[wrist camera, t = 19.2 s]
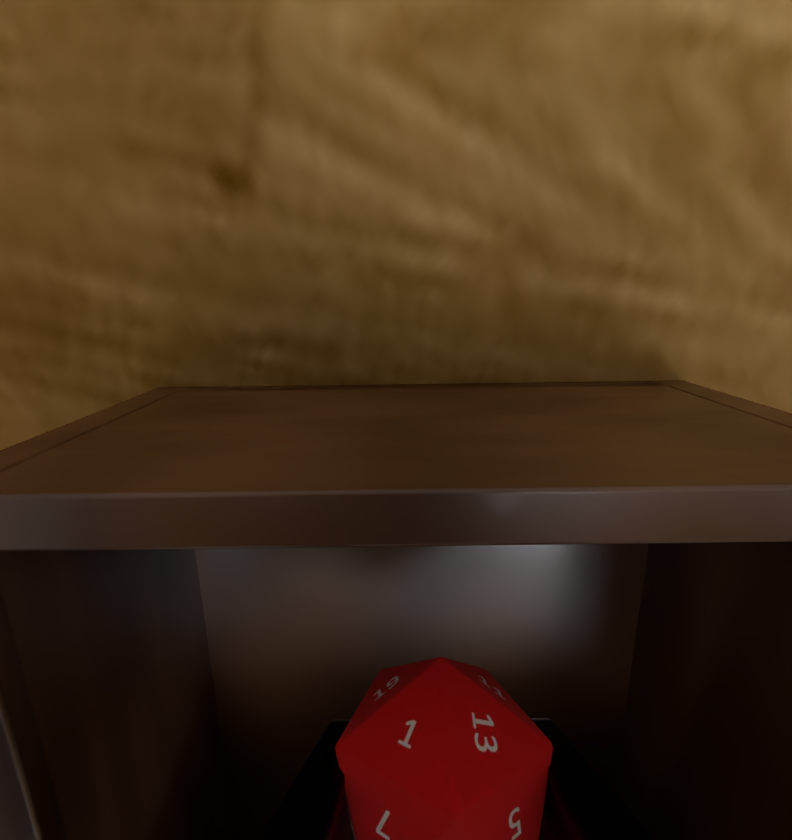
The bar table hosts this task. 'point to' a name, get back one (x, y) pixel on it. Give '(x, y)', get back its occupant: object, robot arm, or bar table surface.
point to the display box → (393, 593)
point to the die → (443, 758)
